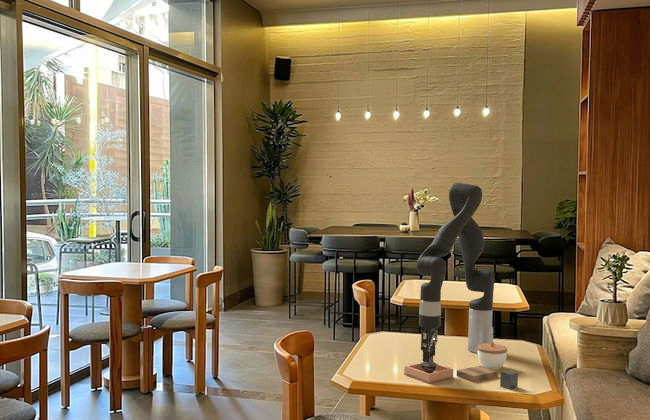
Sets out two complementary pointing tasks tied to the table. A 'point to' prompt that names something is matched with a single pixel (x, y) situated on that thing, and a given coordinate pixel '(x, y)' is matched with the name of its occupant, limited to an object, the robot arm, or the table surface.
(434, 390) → the table surface
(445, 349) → the table surface
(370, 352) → the table surface
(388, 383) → the table surface
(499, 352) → the lidded jar
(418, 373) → the tray
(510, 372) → the dark gray block
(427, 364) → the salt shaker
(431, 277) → the robot arm
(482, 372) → the bronze block
